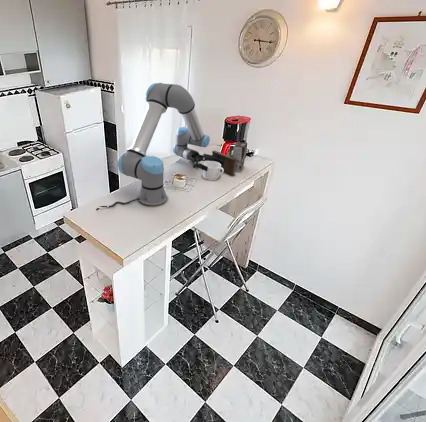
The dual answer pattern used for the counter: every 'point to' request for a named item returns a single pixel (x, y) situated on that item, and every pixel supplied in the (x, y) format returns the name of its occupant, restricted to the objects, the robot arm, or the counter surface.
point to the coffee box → (239, 155)
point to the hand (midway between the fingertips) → (215, 166)
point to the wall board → (226, 163)
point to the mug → (212, 170)
